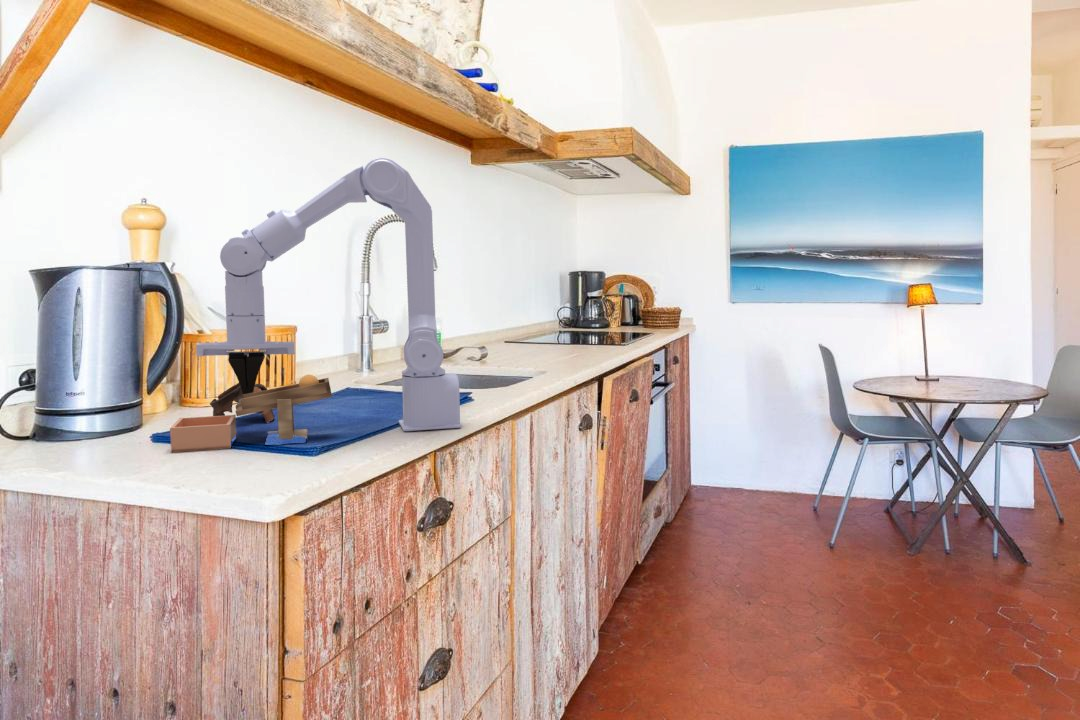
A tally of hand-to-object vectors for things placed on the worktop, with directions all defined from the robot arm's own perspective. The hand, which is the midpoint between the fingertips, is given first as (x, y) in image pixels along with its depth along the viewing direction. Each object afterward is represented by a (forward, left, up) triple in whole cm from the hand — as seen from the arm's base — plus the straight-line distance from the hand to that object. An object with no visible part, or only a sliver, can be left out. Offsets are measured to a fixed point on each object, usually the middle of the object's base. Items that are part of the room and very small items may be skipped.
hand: (248, 399), depth 117 cm
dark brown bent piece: (+1, -12, -6) cm, 14 cm away
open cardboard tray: (+6, +6, -6) cm, 10 cm away
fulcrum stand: (-6, +6, -6) cm, 10 cm away
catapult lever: (-6, +3, 0) cm, 6 cm away
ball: (-10, +6, +3) cm, 12 cm away
